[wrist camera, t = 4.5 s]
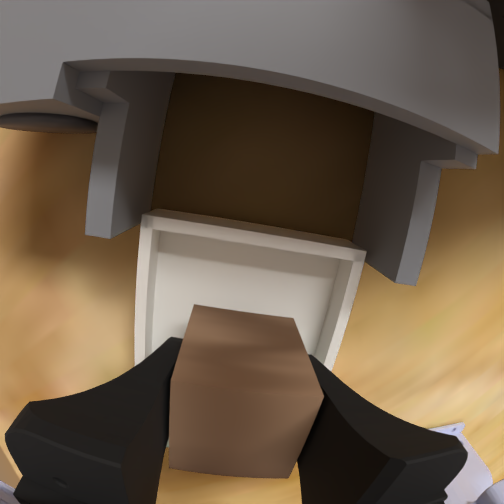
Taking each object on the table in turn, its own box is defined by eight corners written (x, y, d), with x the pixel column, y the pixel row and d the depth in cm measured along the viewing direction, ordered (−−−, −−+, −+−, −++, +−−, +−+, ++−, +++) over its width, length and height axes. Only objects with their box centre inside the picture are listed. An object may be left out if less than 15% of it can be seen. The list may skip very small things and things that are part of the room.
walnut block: (293, 318, 12) (324, 396, 7) (273, 393, 13) (288, 478, 8) (193, 304, 12) (170, 380, 7) (186, 383, 13) (168, 468, 8)
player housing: (396, 58, 13) (489, 2, 5) (366, 254, 15) (462, 317, 8) (76, 18, 11) (2, -45, 4) (36, 203, 14) (-72, 228, 6)
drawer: (348, 239, 15) (398, 269, 10) (305, 394, 17) (324, 458, 12) (155, 208, 14) (114, 224, 9) (145, 374, 16) (120, 436, 11)
